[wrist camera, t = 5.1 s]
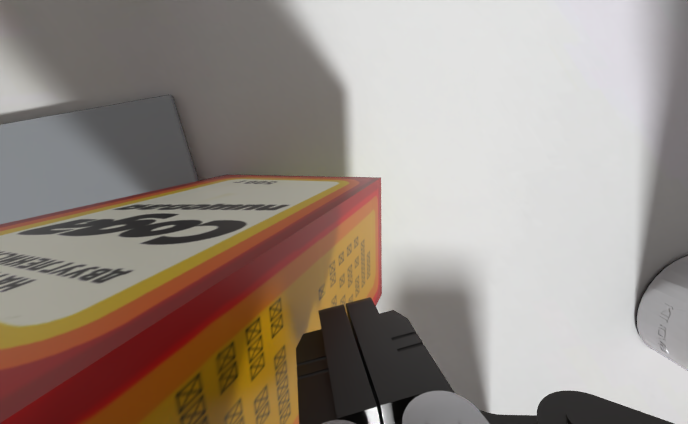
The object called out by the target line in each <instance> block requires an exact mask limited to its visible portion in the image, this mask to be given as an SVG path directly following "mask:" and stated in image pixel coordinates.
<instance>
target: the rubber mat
mask: <svg viewBox="0 0 688 424" xmlns="http://www.w3.org/2000/svg"><path fill="white" fill-rule="evenodd" d="M196 181H198V177H197V174H196V171H195V168H194V164H193V161H192V158H191V155H190V152H189V148H188V145H187V142H186V139H185V135H184V132H183V129H182V126H181V123H180V119H179V116H178V113H177V110H176V106H175V103H174V100H173V97H172V95H165V96H159V97H154V98H148V99H142V100H137V101H131V102H125V103H120V104H114V105H109V106H103V107H97V108H92V109H86V110H80V111H75V112H69V113H63V114H58V115H52V116H47V117H41V118H35V119H30V120H24V121H18V122H13V123H7V124H1V125H0V224H4V223H9V222H13V221H18V220H22V219H27V218H32V217H36V216H41V215H45V214H50V213H54V212H59V211H64V210H68V209H73V208H77V207H82V206H86V205H91V204H96V203H100V202H105V201H109V200H114V199H118V198H123V197H128V196H132V195H137V194H141V193H146V192H150V191H155V190H159V189H164V188H169V187H173V186H178V185H182V184H187V183H191V182H196Z"/></svg>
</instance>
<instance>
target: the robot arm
mask: <svg viewBox="0 0 688 424" xmlns="http://www.w3.org/2000/svg"><path fill="white" fill-rule="evenodd" d="M346 311H347V313H346ZM318 312H319V318H320V323H321V329H320V330H316V331H312V332H308V333H305V334H303V335H302V337H301V339H300V341H299V343H298V345H297V347H296V364H297V379H298V380H297V387H298V410H299V424H674V423H671V422H668V421H665V420H662V419H660V418H657V417H654V416H651V415H648V414H645V413H643V412H640V411H637V410H634V409H631V408H628V407H626V406H623V405H620V404H617V403H614V402H611V401H608V400H606V399H603V398H600V397H597V396H594V395H591V394H588V393H583V392H578V391H559V392H554V393H552V394H549V395H548V396H546V397H544V398H543V400H542V401H541V402H540V404H539V406H538V409H537V416H529V415H496V414H491V413H487V412H484V411H480V410H479V409H478V408H477V407H476V406H475V405H474V404H473V403H472V402H470V401H469V400H468V399H466V398H464V397H463V396H461V395H458V394H456V393H454V391H453V390H452V388H451V387H450V385H449V384H448V382H447V381H446V379H445V377H444V376H443V374H442V373H441V371H440V369H439V368H438V366H437V365H436V363H435V362H434V360H433V358H432V357H431V355H430V354H429V352H428V350H427V349H426V347H425V346H424V345H423V343H422V341H421V339H420V338H419V336H418V335H417V334H416V332H415V330H414V328H413V327H412V325H411V324H410V322H409V320H408V319H407V318H405V317H404V316H402V315H401V314H399V313H397V312H396V311H394V310H392V311H389V312H385V313H381V314H379V313H378V311H377V309H376V307H375V305H374V302H373V300H372V299H371V297H369V298H365V299H361V300H357V301H353V302H349V303H346V310H345V307H344V304H342V305H338V306H334V307H330V308H326V309H322V310H318ZM637 328H638V331H639V335H640V337H641V338H642V340H643V341H644V343H645V344H646V345H648V346H649V347H650V348H651V349H653V350H655V351H656V352H658V353H660V354H661V355H663V356H664V357H666V358H668V359H669V360H671V361H673V362H674V363H676V364H677V365H679V366H681V367H682V368H684V369H686V370H687V371H688V256H685V257H683V258H681V259H679V260H677V261H675V262H673V263H672V264H670V265H669V266H667V267H666V268H665V269H664V270H663V271H662V272H661V273H659V274H658V275H657V276H656V277H655V279H654V280H653V281H652V283H651V284H650V285H649V286H648V288H647V290H646V292H645V293H644V295H643V297H642V300H641V303H640V305H639V309H638V315H637Z"/></svg>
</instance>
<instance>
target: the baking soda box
mask: <svg viewBox="0 0 688 424" xmlns="http://www.w3.org/2000/svg"><path fill="white" fill-rule="evenodd" d="M381 294H382V279H381V178H371V177H320V176H268V175H223V176H219V177H214V178H210V179H205V180H201V181H196V182H191V183H187V184H182V185H178V186H173V187H169V188H164V189H159V190H155V191H150V192H146V193H141V194H137V195H132V196H128V197H123V198H118V199H114V200H109V201H105V202H100V203H96V204H91V205H86V206H82V207H77V208H73V209H68V210H64V211H59V212H54V213H50V214H45V215H41V216H36V217H32V218H27V219H22V220H18V221H13V222H9V223H4V224H0V424H299V410H298V387H297V380H298V379H297V364H296V347H297V345H298V343H299V341H300V339H301V337H302V335H303V334H305V333H308V332H312V331H316V330H320V329H321V323H320V318H319V312H318V310H322V309H326V308H330V307H334V306H338V305H342V304H344V307H345V310H346V303H349V302H353V301H357V300H361V299H365V298H369V297H371V299H372V300H373V302H374V305H375V306H376V304H377V302H378V300H379V298H380V296H381ZM346 313H347V311H346Z"/></svg>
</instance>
